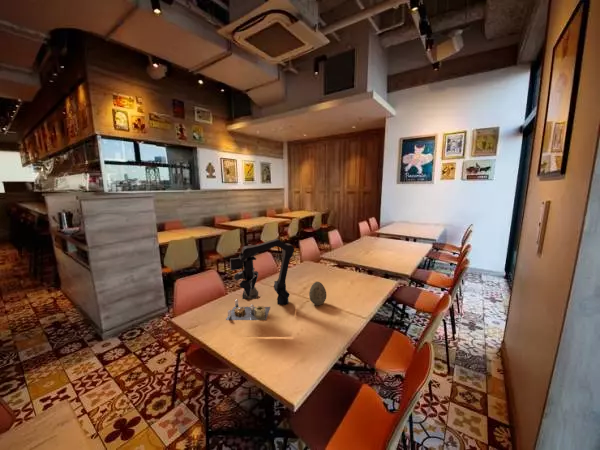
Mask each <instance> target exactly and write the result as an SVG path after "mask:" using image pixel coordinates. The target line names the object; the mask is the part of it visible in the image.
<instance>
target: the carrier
mask: <svg viewBox="0 0 600 450" xmlns="http://www.w3.org/2000/svg"><path fill="white" fill-rule="evenodd" d="M234 304H235V305H234V306H233V308H232V309H229V310H227V317H226V319H225V321H266V320H267V318H268V315H269V313H270V310H271V306H264V307H265V311H266V314H265V316H264V317H262V318H257V317H255V316H254V309H255V307H256V306H254V304H250V306H239V299H237V298H236V299H235V300H234Z"/></svg>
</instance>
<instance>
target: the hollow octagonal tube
mask: <svg viewBox="0 0 600 450" xmlns="http://www.w3.org/2000/svg"><path fill="white" fill-rule="evenodd" d="M254 307H255V309H254V316H255V317H257V318H262V317H264V316H265V314H266V311H265V307H266V306H264V305H258V306H254Z"/></svg>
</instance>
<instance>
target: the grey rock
mask: <svg viewBox="0 0 600 450" xmlns="http://www.w3.org/2000/svg"><path fill="white" fill-rule="evenodd" d="M258 297H259V290H257V288H256V287H255V286H254V289H252V288H251V291H250V295H249V296H247V294H246V292H245V290H244V289H243V292H242V296H241V298H242V300H243V299H245V300H246V299H249V300H256V299H257V298H258Z"/></svg>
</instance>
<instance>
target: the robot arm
mask: <svg viewBox="0 0 600 450" xmlns="http://www.w3.org/2000/svg"><path fill="white" fill-rule="evenodd" d="M276 247H278V248H280V249H281V253H282V259H281V265H280V270H279V274H278V279H277V280H274V283H273V286H272V287H273V290H274V291H275V292H276V294H277V295H278V296H277V299H276V303H277V305H281V306H285V305H289V298H290V293H289V292H288V290H287V285H286V279H287V276H288V269H289V266H290V265H289V264H290V260H291V258H292V256H293V255H294V253H295V247H294V246H293V245H292V244H291V243H285V242H283V241H281V240H280V239H278V238H274V239H272V240H269V241H265V242H263V243H258V244H254V245H253V244H251V245H245V246H243V247H242V248H241V252H240V254H239V256H238V257H234V258H233V257H231V258H229V269H230V272H231V271H237V270H241V269H242V268H243V270H242V271H239V272H236V273H235V274H234V275H233V277H234V278H233V279H234V280H235V281H239V280H241V282H240V283H239V288H241V289H243V291H244V290H245V292H246V294H247V296H249V295H250V291H251V288H252V289H254V287H255V286H256V284H257V280H258V278H259V272H258V271H257V270H255V267H254V260H255V261H256V260H257V258H256V256H255V255H257V254H258V253H259V252H260V253H261V252H263V251H266V250H269V249H272V248H276Z"/></svg>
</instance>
